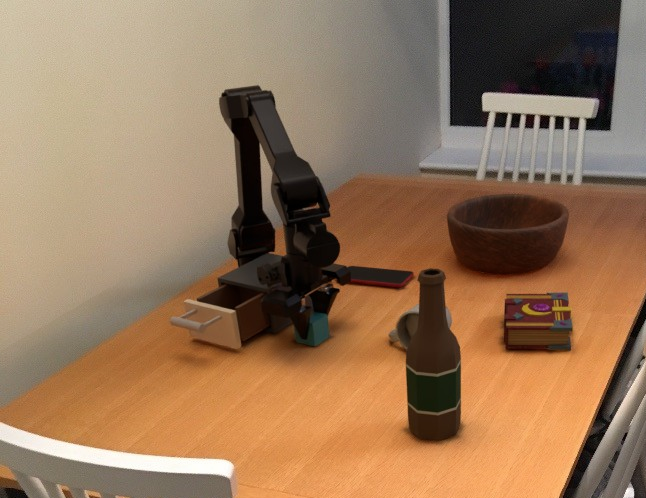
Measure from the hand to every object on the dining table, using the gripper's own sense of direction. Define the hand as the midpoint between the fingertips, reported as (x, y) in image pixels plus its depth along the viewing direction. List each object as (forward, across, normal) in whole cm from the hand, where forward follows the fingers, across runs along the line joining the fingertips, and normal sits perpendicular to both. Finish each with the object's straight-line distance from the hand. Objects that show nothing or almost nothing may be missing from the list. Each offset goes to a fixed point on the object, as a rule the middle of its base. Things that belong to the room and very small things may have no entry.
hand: (312, 334), depth 150 cm
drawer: (0, +7, -14) cm, 16 cm away
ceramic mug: (+1, -7, +18) cm, 19 cm away
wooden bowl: (+1, -51, +13) cm, 53 cm away
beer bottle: (+1, +16, +35) cm, 39 cm away
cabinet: (+1, -6, -14) cm, 15 cm away
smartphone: (+1, -29, -6) cm, 30 cm away
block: (+1, 0, 0) cm, 1 cm away
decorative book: (+1, -21, +34) cm, 40 cm away
